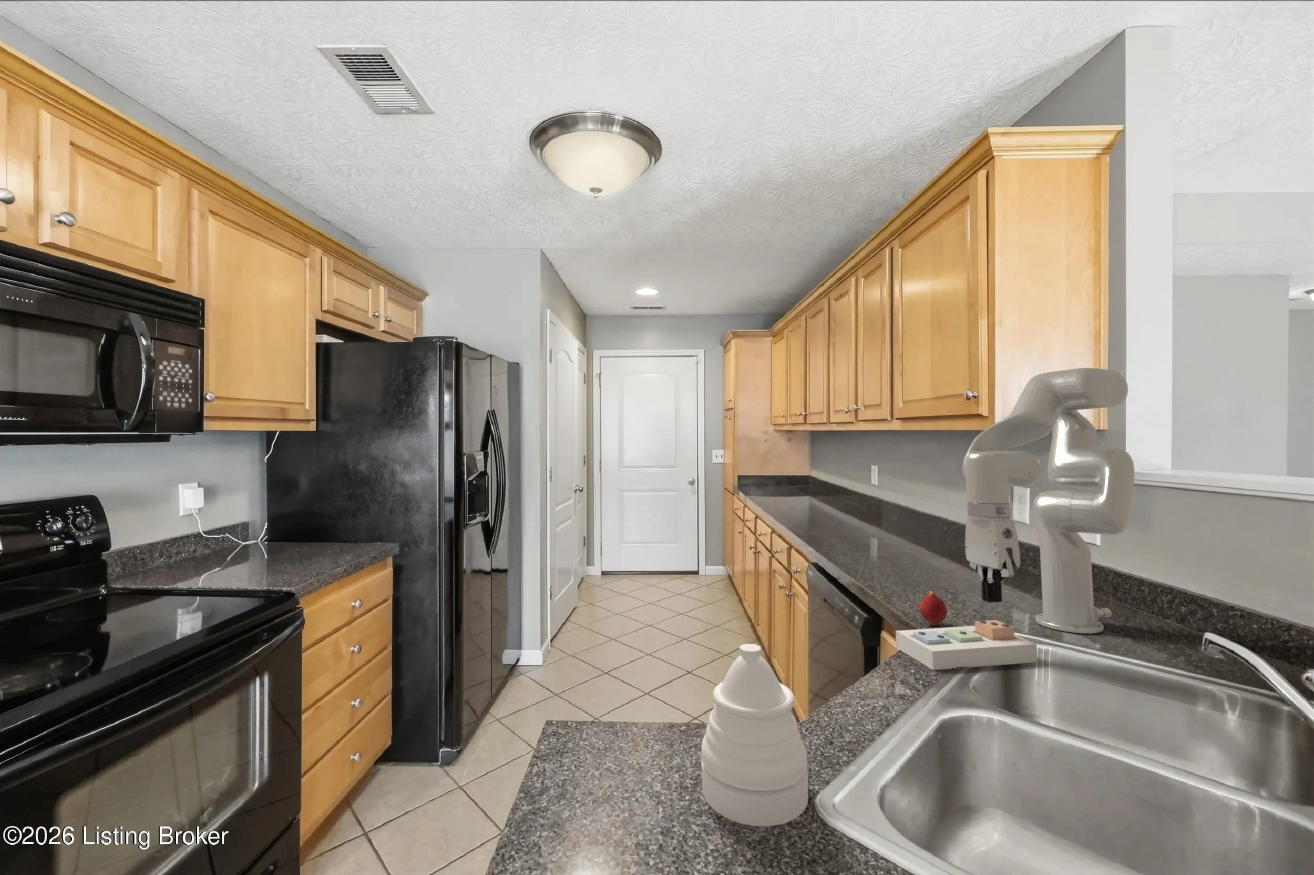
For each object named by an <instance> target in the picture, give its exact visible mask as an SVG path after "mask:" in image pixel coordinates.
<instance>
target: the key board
mask: <svg viewBox="0 0 1314 875" xmlns="http://www.w3.org/2000/svg"><path fill="white" fill-rule="evenodd" d="M956 629H967V630H969V631H971V632H973V633H975V625H968V626H967V625H964V626H951V627H935V628H922V629H921V628H920V629H918V628H917V629H906V630H903V629H902V630H895V647H896V649H897V650H899V651H901V652H903V653H904V654H906V655H907V656H909V657H911V658H913V659H915V660H916V661H917V662H919V663H921V664H923V665H924V666H925V667H927V668H929V669H930V670H932V671H936V670H938V671H939V670H948V669H949V670H950V669H951V670H952V668H954V669H956V668H955V667H963V666H970V667H969V668H976V667H977V668H979V667H980V668H981V667H992V666H1003V665H1004V666H1005V665H1018V664H1029V663H1033V664H1034V663H1038V645H1037V643H1035V642H1033V641H1031V640H1028V639H1027V638H1024V637H1021V636H1019V635H1016V634H1014V639H1010V640H995V641H992V640H990V639H987V638H985V637H983V636H982V637H983V641H981V642H967V643H959V642H957V641H955V640H953V639H951V638H950V644H938V645H926V644H924V643H922V642H920V641H919V640H917V639H915V638H913V632H924V631H936V632H938V633H940V634H942V635H944V630H956ZM978 635H979V634H978ZM944 636H945V635H944ZM980 636H981V635H980ZM946 637H947V636H946ZM948 638H949V637H948Z"/></svg>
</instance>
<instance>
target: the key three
mask: <svg viewBox="0 0 1314 875" xmlns="http://www.w3.org/2000/svg"><path fill="white" fill-rule="evenodd" d="M974 626H975V633H976V634H979V635H981V636H983V637H985V638H987V639H990V640H992V641H995V640H1010V639H1014V635H1015V627H1014V626H1012V625H1009V624H1007V623H1004V622H1003V621H999V620H997V619H992V620H988V619H987V620H976V621H974Z"/></svg>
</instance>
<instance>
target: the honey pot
mask: <svg viewBox="0 0 1314 875" xmlns="http://www.w3.org/2000/svg"><path fill="white" fill-rule="evenodd" d="M739 653H740V655H739V656H738V657H737V658H736V659H735V660H734V661H733V663H732V664H731V666H730V668H729V669H728V670H727V672H726V675H725V677H724V679H723V681H722V682H720V683H719V684H717V685H716V686H715V688H714V689H713V692H712V698H713V699H712V700H713V702H714V705H713V708H712V710H711V712H710V714H709V716H708V724H707V725H706V729H705V734H704V736H703V738H702V740H701V754H700V756H701V787H702V788H701V789H702V796H703V797H704V799H705V800H704V801H705V802H706V803H707V804H708V805H709V806H710V807H711V808H712V810H713V811H714V812H716V813H718V814H720V815H721V816H722V817H723V818H726V819H728V820H731V821H733V822H736V823H738V824H742V825H748V826H753V827H772V826H779V825H784V824H786V823H788V822H791V821H793V820H796V819H797V818H798V817H799V816H801V815H802V813H804V812H805V809H806V808H807V806H808V803H809V782H808V781H809V780H808V777H809V776H808V759H807V757H808V752H807V749H806V746H805V744H804V742H803V740H802V736H801V733H800V730H799V728H798V722H797V720H796V717H795V716H794V715H793V713H792V709H793V707H794V706H795V703H796V698H795V695H794V693H793V691H792V690H791V689H790V688H789V687H788V686H786V685H784V684H783V683H781V682H780V681H779V680H778V677H777V676H776V674H775V672H774V670H773V668H771V665H770V664H769V663H768V662H767V660H766V659H765V658H763V656H762V655H761V653H762V646H760V645H759V644H755V643H746V644H745V643H744V644H741V645H740V646H739Z"/></svg>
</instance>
